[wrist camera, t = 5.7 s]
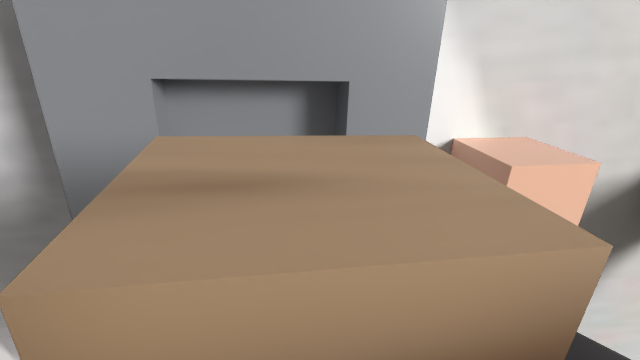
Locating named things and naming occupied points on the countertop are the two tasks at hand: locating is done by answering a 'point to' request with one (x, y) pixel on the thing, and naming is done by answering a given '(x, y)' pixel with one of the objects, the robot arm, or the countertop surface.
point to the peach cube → (533, 171)
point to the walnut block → (305, 259)
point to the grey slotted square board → (222, 73)
